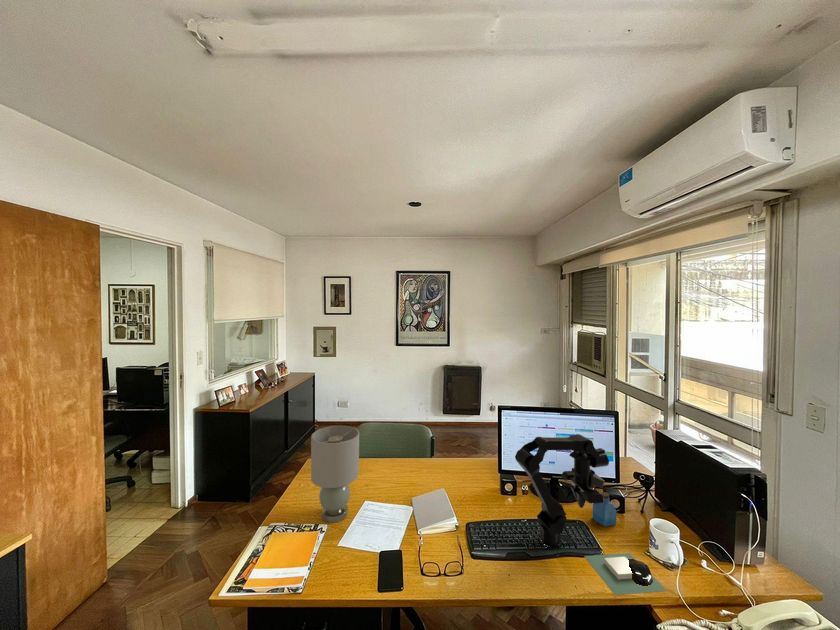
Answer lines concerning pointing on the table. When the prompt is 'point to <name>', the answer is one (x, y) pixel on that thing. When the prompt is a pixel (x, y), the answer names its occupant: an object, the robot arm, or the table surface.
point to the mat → (623, 584)
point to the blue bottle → (604, 512)
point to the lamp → (334, 468)
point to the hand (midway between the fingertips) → (581, 507)
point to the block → (619, 567)
